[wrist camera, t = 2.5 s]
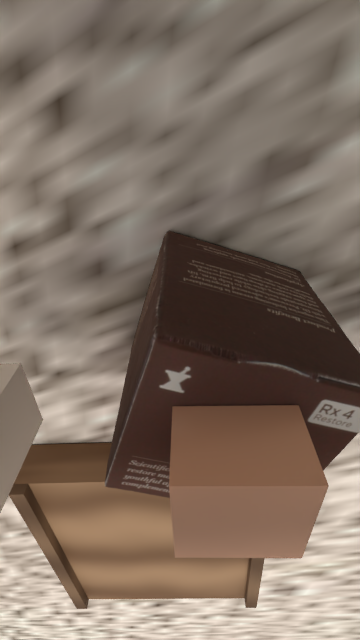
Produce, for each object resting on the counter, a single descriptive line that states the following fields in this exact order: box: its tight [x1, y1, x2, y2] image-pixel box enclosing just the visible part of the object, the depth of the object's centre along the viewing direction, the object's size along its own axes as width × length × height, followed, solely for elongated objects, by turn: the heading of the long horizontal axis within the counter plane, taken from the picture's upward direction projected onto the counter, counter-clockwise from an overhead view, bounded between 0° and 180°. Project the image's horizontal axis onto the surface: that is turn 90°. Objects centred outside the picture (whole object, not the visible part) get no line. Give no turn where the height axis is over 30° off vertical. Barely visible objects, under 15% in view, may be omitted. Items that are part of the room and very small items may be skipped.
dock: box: [9, 443, 264, 609], centre depth 23 cm, size 16×14×3 cm
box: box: [105, 231, 360, 498], centre depth 12 cm, size 6×6×7 cm
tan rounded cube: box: [169, 405, 328, 558], centre depth 8 cm, size 3×3×2 cm
